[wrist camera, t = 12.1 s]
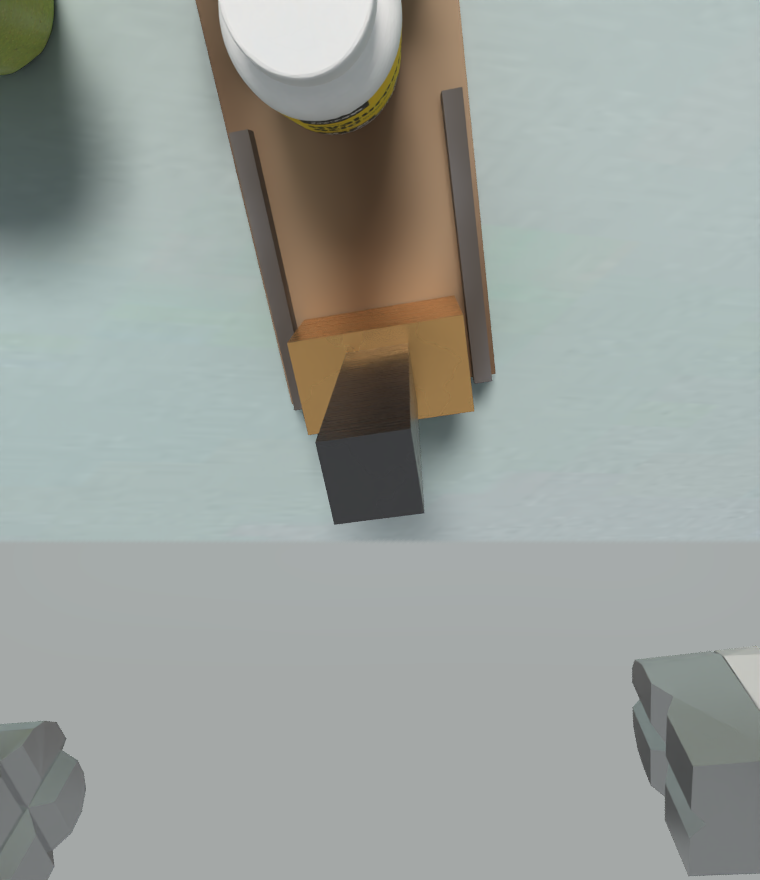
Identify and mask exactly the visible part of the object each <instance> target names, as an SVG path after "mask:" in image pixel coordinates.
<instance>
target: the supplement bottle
mask: <svg viewBox="0 0 760 880" xmlns="http://www.w3.org/2000/svg"><path fill="white" fill-rule="evenodd" d="M218 8H219V21H220V27H221V32H222V36H223V40H224V43H225V46H226V49H227V52H228V54H229V56H230V59H231V61H232V63H233V65H234V67H235V68H236V70H237V72H238V73H239V75H240V76H241V78H242V79H243V81H244V82H245V83H246V84H247V85H248V87H249V88H250V89H251V90H252V91H253V92H254V93H255V94H256V95H257V96H258V97H259V98H260V99H261V100H262V101H263V102H264V103H266V104H267V105H268V106H269V107H271V108H272V109H274V110H276V111H277V112H279V113H280V114H282V115H284V116H285V117H287V118H289V119H290V120H292V121H294V122H295V123H297V124H299V125H300V126H302V127H304V128H306V129H308V130H310V131H313V132H317V133H322V134H329V135H337V134H345V133H349V132H352V131H355V130H357V129H360V128H362V127H363V126H365V125H367V124H368V123H369V122H371V121H372V120H373V119H374V118H375V117H376V116H377V115H378V114H379V113H380V112H381V111H382V110H383V108H384V107H385V106H386V104H387V103H388V101H389V99H390V97H391V95H392V93H393V91H394V88H395V86H396V82H397V79H398V75H399V69H400V62H401V41H402V4H401V0H218Z"/></svg>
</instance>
